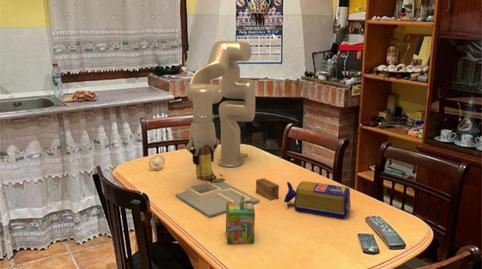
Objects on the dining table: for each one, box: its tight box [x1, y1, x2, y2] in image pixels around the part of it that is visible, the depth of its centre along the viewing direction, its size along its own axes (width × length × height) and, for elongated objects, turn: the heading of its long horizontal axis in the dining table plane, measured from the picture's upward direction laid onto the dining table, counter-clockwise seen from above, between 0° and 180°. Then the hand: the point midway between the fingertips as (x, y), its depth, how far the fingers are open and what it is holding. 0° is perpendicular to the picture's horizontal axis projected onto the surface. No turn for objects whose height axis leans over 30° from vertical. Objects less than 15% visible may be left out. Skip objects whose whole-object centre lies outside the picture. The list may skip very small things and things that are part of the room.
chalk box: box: [225, 195, 256, 245], centre depth 155 cm, size 9×9×15 cm
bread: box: [283, 180, 351, 220], centre depth 178 cm, size 10×25×10 cm, turn 68°
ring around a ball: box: [148, 153, 166, 171], centre depth 220 cm, size 8×6×8 cm
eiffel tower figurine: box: [201, 171, 226, 184], centre depth 208 cm, size 15×10×13 cm
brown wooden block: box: [255, 177, 280, 202], centre depth 192 cm, size 4×10×6 cm, turn 35°
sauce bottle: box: [195, 145, 213, 181], centre depth 185 cm, size 7×6×20 cm
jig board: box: [175, 181, 260, 219], centre depth 187 cm, size 24×25×4 cm
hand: (203, 162), depth 186 cm, fingers closed on sauce bottle, 6 cm apart
